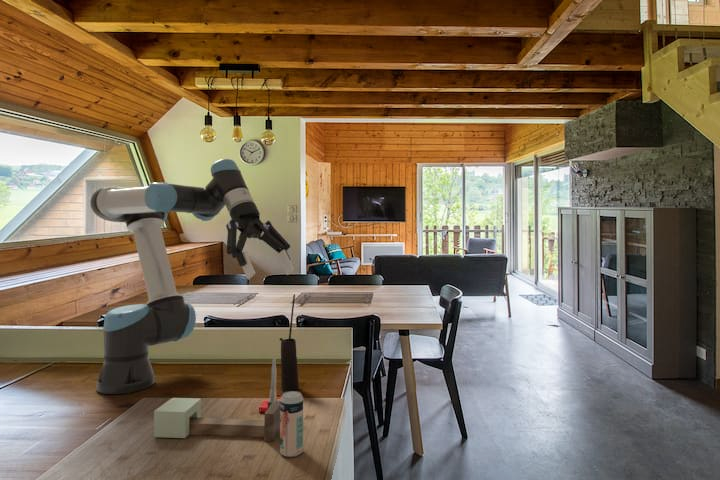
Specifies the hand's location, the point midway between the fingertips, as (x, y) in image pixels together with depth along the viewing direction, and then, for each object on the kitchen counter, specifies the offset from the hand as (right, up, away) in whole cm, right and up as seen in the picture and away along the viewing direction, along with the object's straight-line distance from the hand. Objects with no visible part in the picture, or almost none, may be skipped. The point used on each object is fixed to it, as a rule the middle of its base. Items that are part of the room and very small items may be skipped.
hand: (272, 274), depth 113 cm
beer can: (+9, -35, -24) cm, 43 cm away
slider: (-18, -35, -14) cm, 42 cm away
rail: (-9, -35, -15) cm, 39 cm away
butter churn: (+1, -35, +14) cm, 37 cm away
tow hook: (+2, -35, +1) cm, 35 cm away
